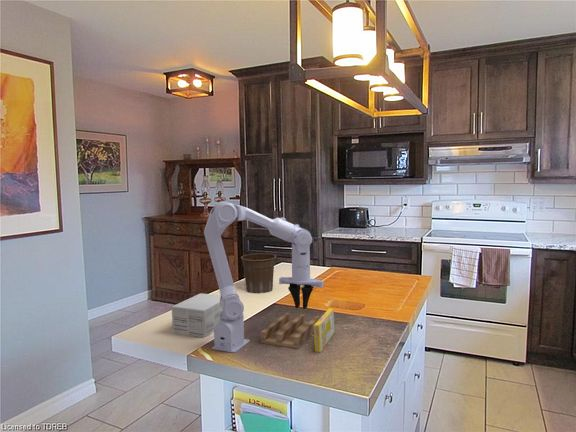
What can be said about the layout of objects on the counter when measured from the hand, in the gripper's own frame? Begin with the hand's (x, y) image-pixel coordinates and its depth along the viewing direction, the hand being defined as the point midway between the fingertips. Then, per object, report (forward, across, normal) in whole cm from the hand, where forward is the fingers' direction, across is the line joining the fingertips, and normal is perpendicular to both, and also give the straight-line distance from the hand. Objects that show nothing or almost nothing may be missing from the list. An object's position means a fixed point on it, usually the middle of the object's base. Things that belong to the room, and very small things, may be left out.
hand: (301, 307), depth 129 cm
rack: (+9, +4, 0) cm, 10 cm away
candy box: (+10, -8, +2) cm, 13 cm away
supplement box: (+10, +36, +4) cm, 37 cm away
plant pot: (+10, +39, -45) cm, 60 cm away
